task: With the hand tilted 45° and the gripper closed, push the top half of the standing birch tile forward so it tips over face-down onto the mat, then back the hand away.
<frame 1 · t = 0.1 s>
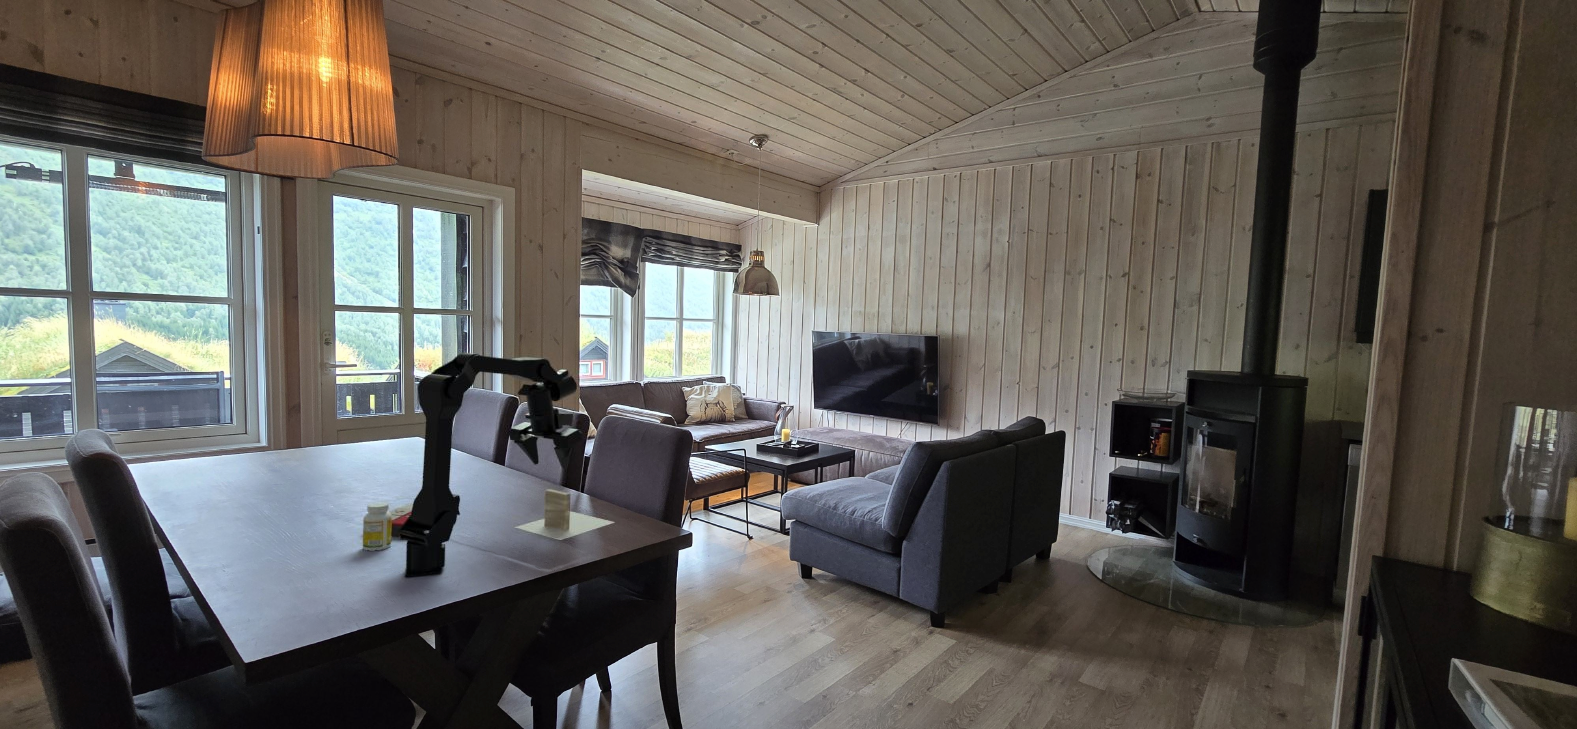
hand: (550, 466, 165), 15 cm above the table, tool pointing down, fingers open, 9 cm apart
tile: (556, 527, 164), point 1 cm above the table, touching mat
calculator: (408, 529, 161), on the table
mat: (565, 527, 167), on the table
supplement bottle: (377, 548, 146), on the table
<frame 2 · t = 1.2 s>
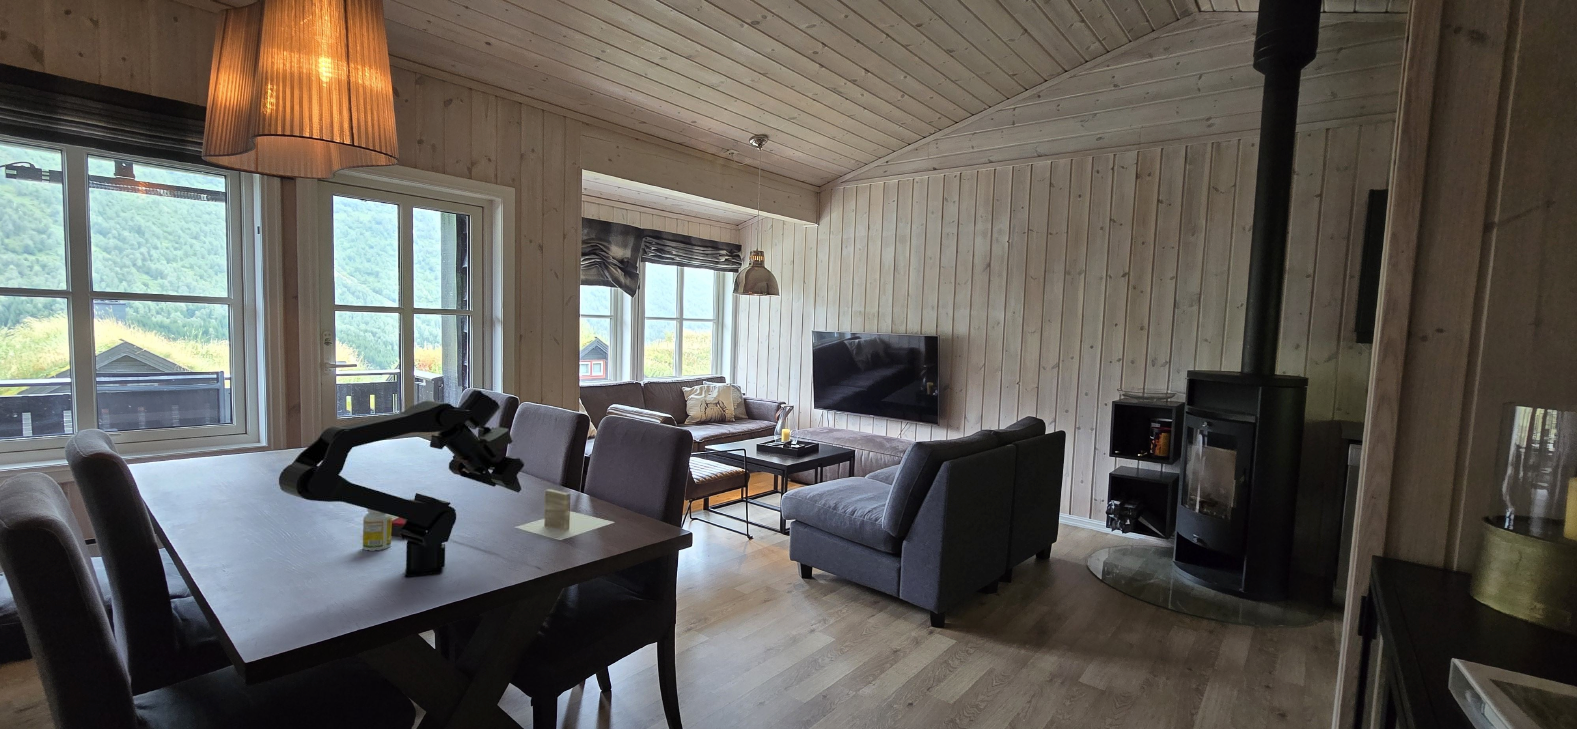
hand: (507, 487, 151), 13 cm above the table, tool tilted 45°, fingers open, 8 cm apart
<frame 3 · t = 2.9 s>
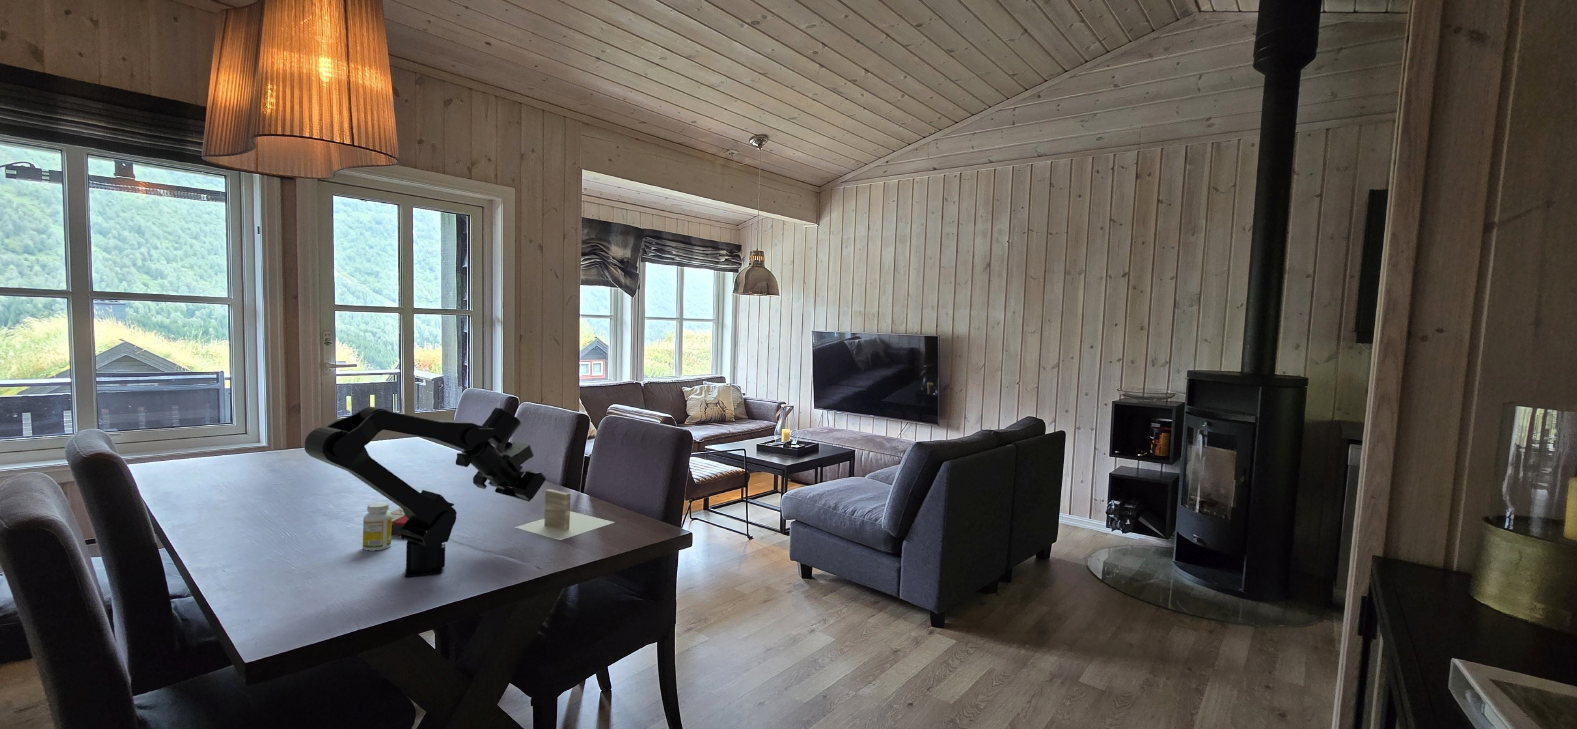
hand: (529, 499, 156), 9 cm above the table, tool tilted 45°, fingers closed
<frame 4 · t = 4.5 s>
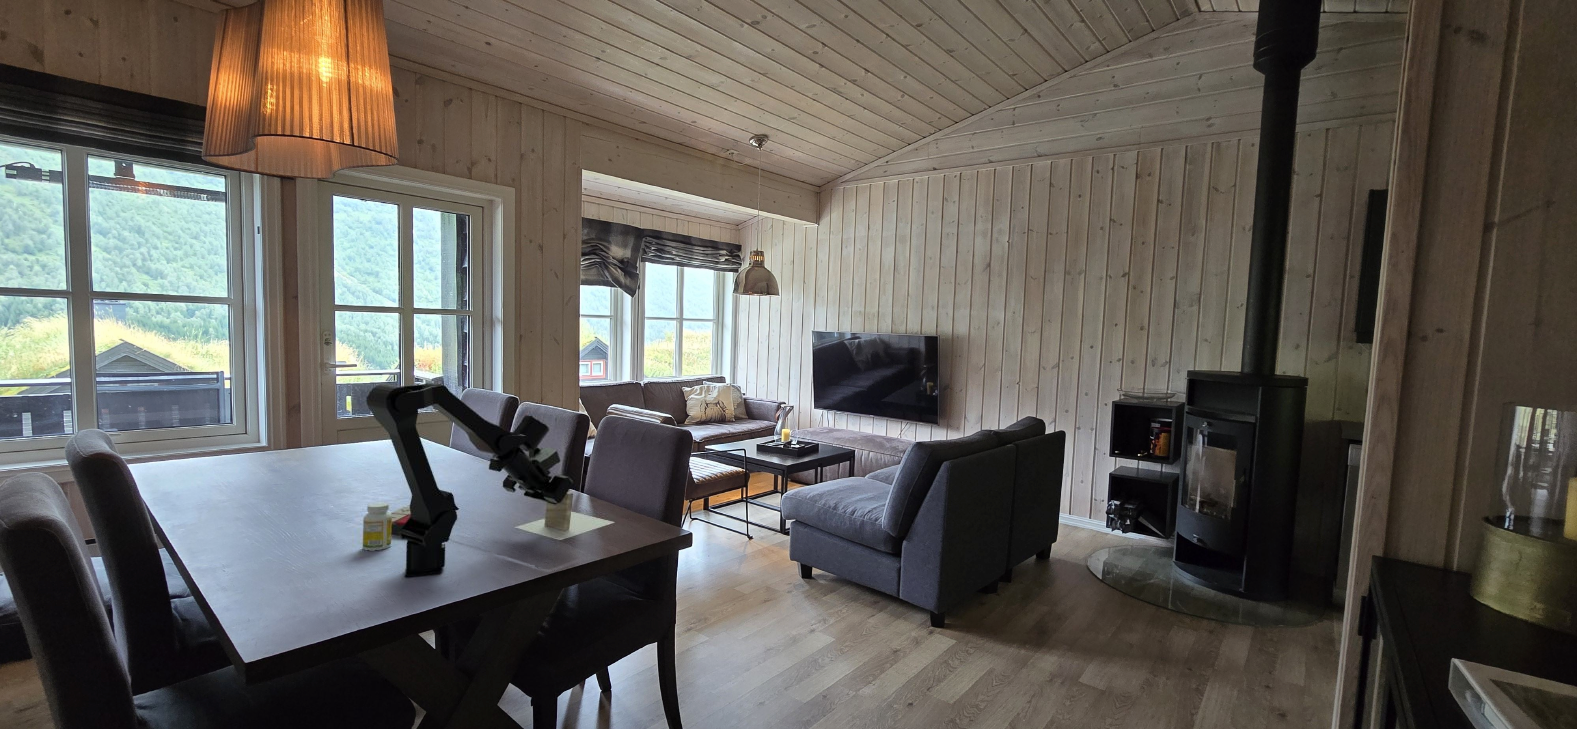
hand: (556, 502, 164), 7 cm above the table, tool tilted 45°, fingers closed
tile: (556, 527, 164), point 1 cm above the table, tilted 6°, touching mat
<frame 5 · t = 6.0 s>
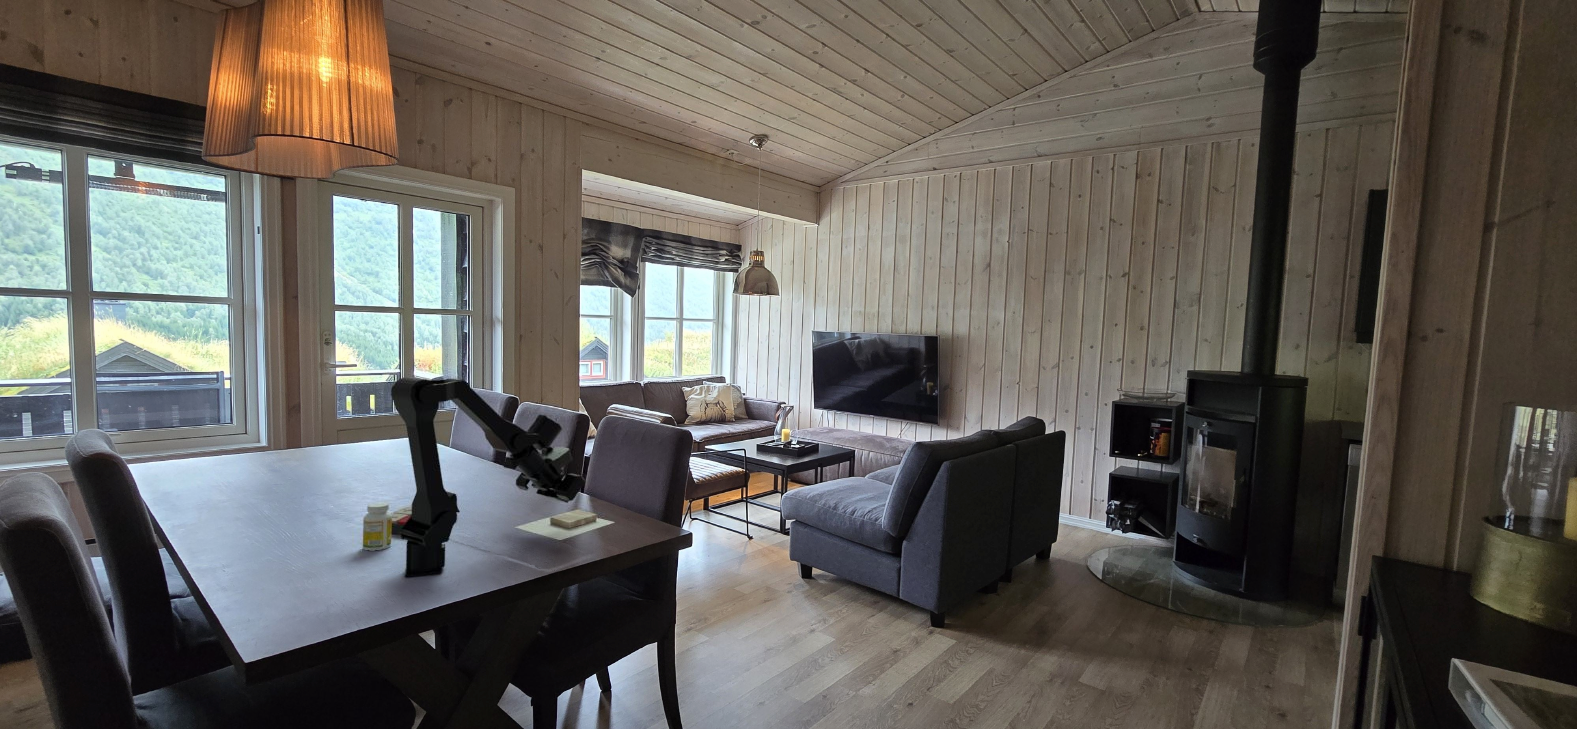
hand: (567, 501, 167), 7 cm above the table, tool tilted 45°, fingers closed
tile: (559, 522, 165), point 2 cm above the table, tilted 90°, touching mat
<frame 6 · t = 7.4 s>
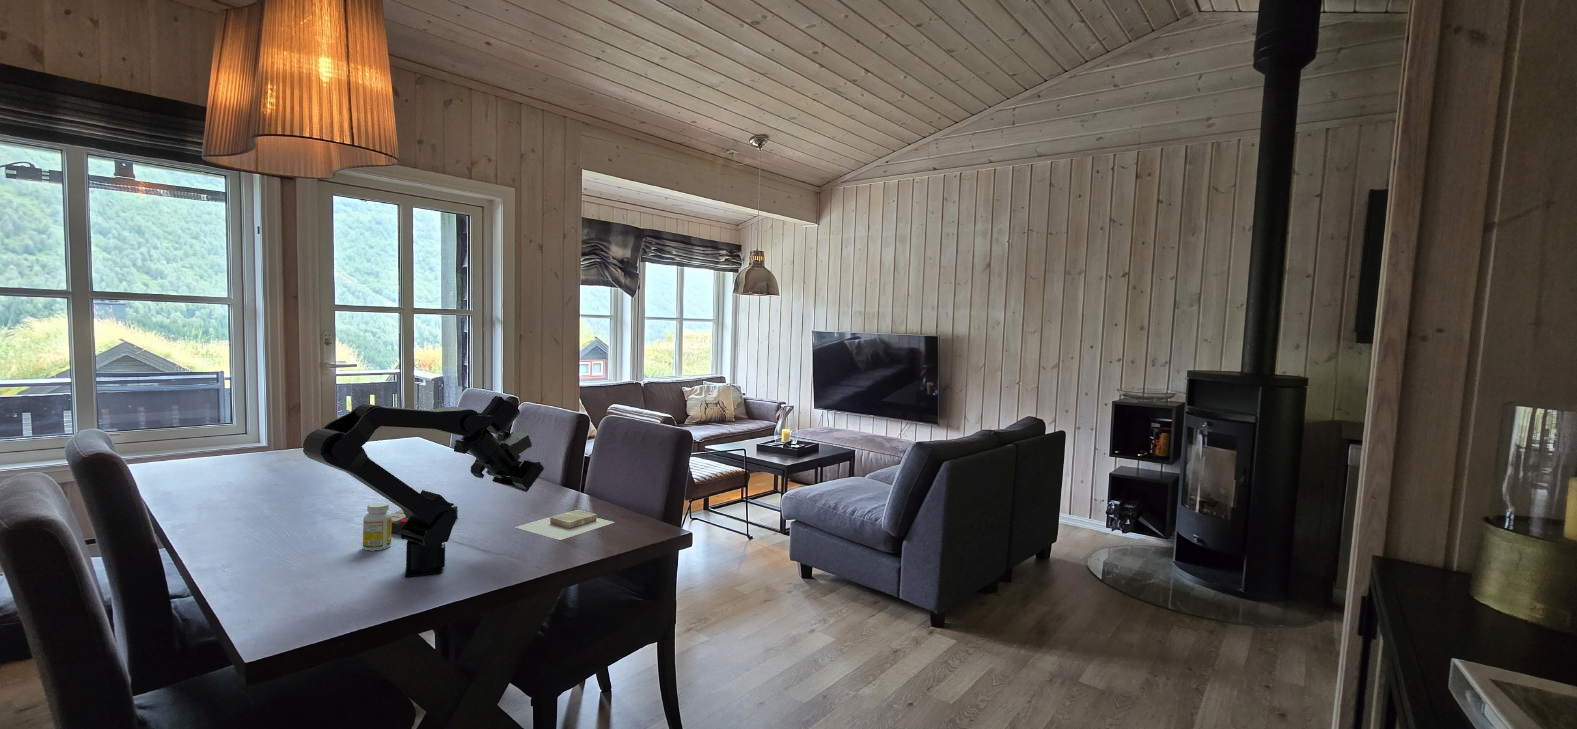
hand: (527, 490, 156), 12 cm above the table, tool tilted 45°, fingers closed
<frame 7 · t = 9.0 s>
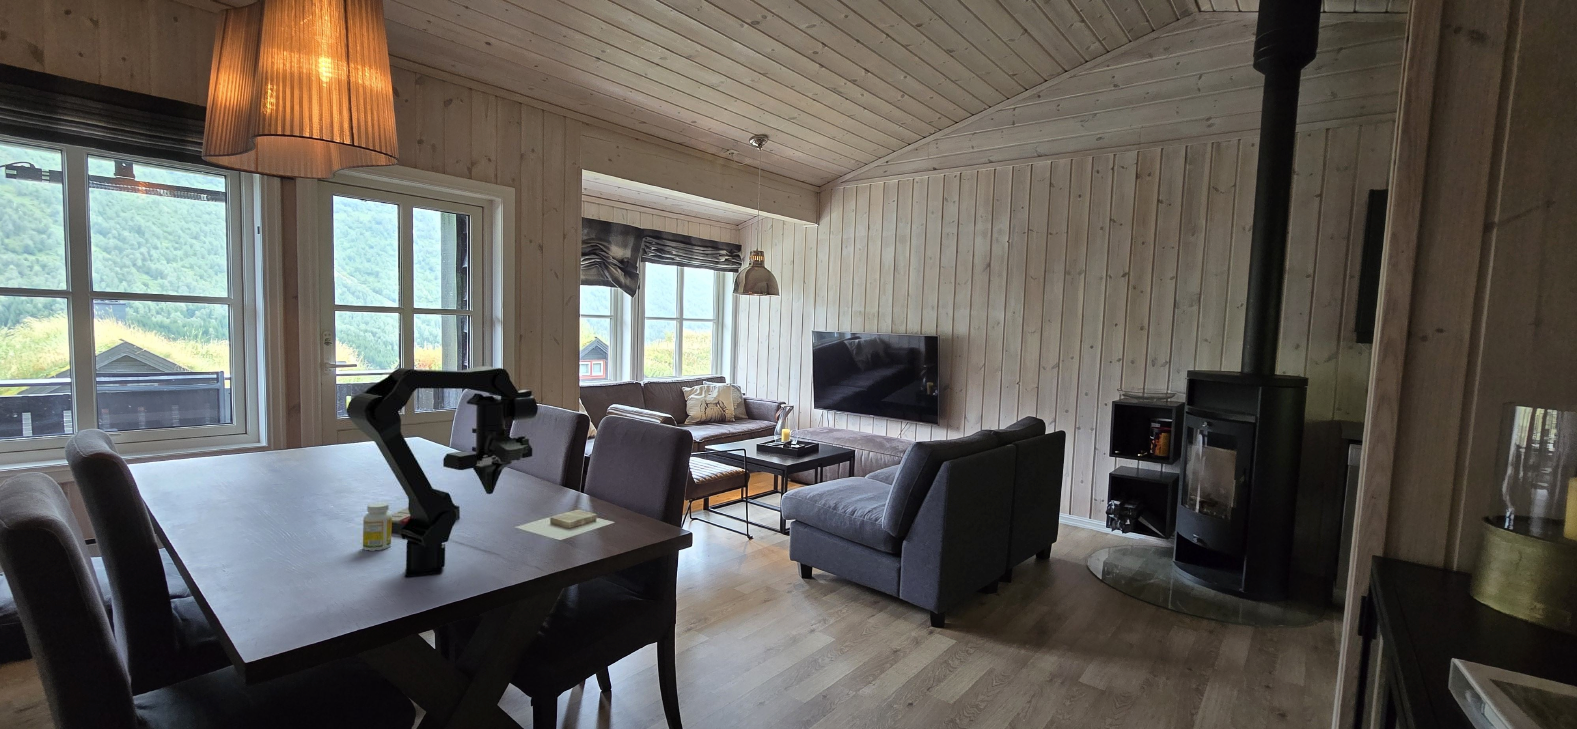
hand: (489, 493, 146), 13 cm above the table, tool pointing down, fingers closed
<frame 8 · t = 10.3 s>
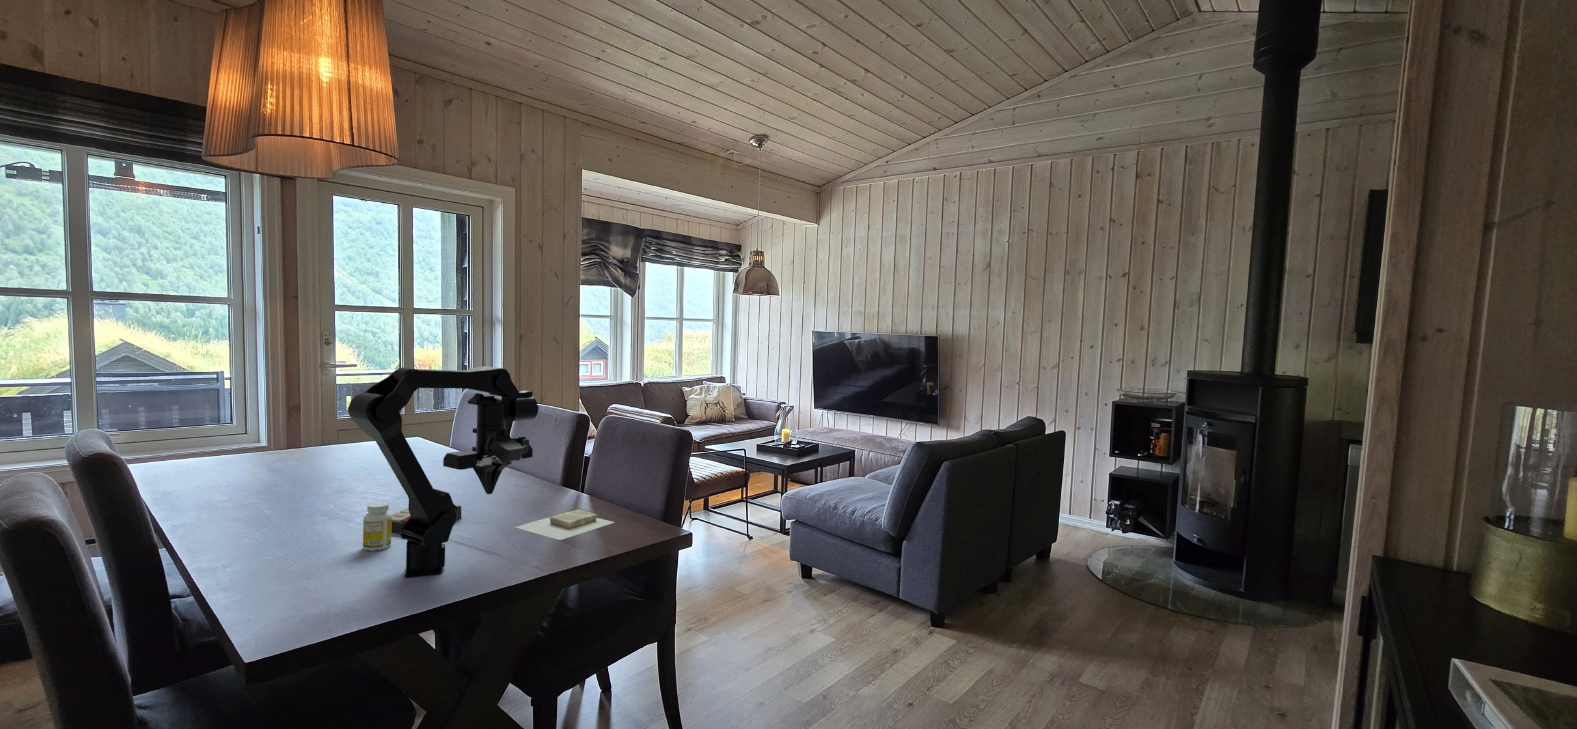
hand: (489, 493, 146), 13 cm above the table, tool pointing down, fingers closed
at the end: tile tilted 90°; tile touching mat; the gripper is holding nothing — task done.
